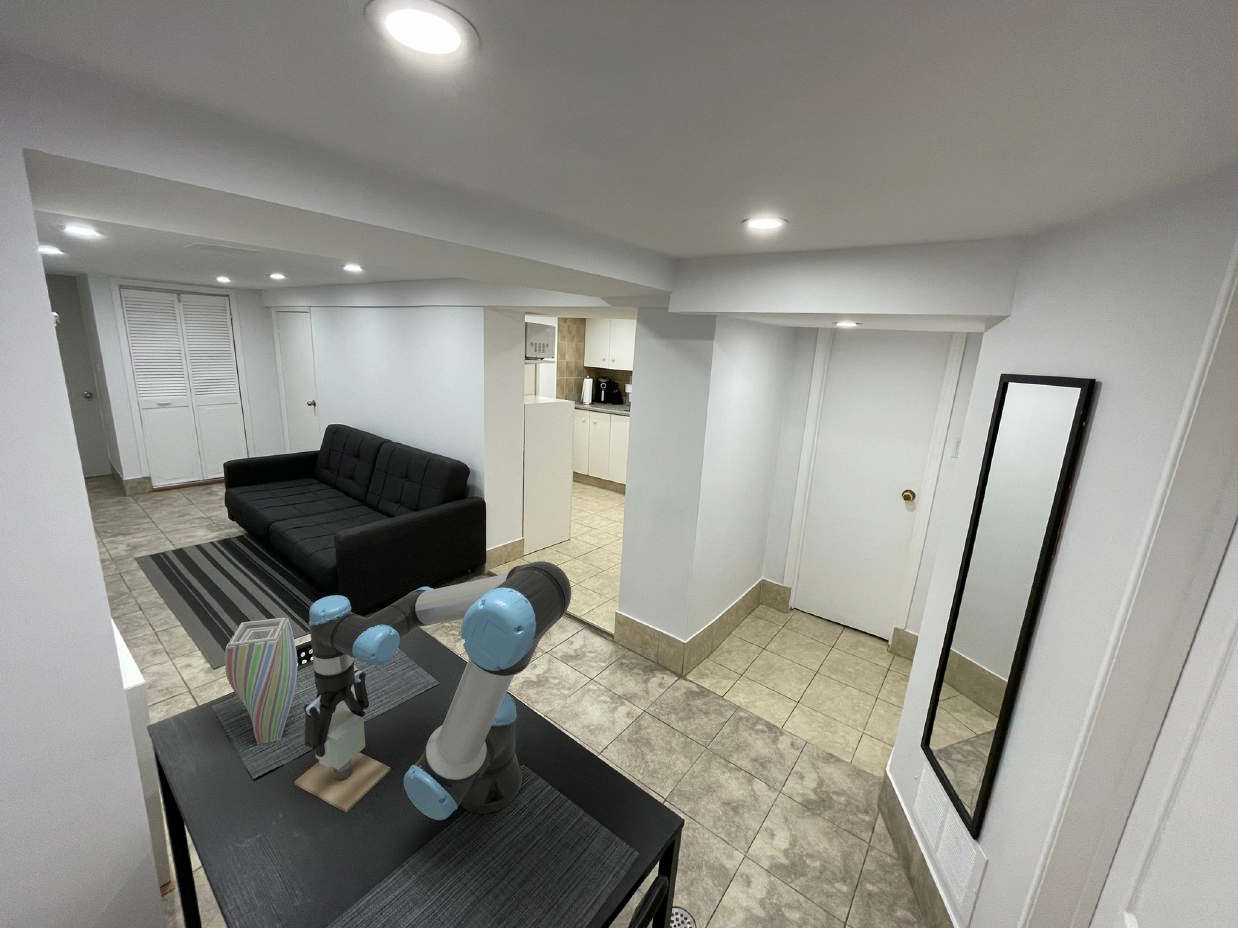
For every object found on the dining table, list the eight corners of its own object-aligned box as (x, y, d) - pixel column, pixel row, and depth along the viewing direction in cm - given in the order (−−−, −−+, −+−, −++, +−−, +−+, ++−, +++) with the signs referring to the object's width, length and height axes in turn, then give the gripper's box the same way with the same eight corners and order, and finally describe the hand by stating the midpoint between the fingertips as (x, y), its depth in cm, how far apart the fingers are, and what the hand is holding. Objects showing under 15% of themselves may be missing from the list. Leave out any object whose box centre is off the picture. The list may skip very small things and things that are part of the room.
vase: (297, 748, 121) (285, 642, 114) (229, 762, 116) (212, 652, 109) (308, 709, 133) (297, 611, 126) (247, 720, 128) (233, 618, 121)
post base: (390, 769, 118) (389, 748, 116) (346, 812, 107) (344, 789, 105) (341, 745, 123) (339, 724, 121) (294, 784, 112) (291, 761, 111)
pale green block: (365, 746, 115) (363, 718, 113) (338, 769, 109) (336, 739, 107) (343, 735, 118) (341, 707, 115) (315, 757, 111) (313, 728, 109)
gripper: (360, 636, 117) (365, 716, 123) (276, 687, 99) (286, 779, 105) (384, 645, 115) (388, 727, 121) (302, 700, 97) (311, 793, 103)
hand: (340, 751), depth 113 cm, fingers closed on pale green block, 7 cm apart
